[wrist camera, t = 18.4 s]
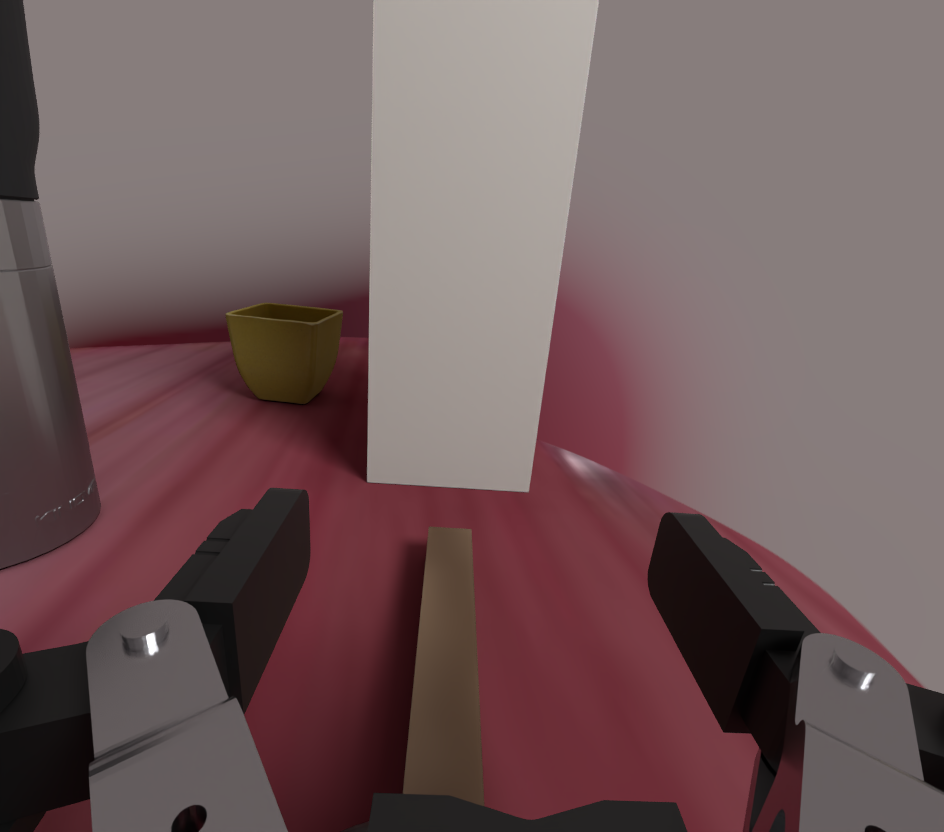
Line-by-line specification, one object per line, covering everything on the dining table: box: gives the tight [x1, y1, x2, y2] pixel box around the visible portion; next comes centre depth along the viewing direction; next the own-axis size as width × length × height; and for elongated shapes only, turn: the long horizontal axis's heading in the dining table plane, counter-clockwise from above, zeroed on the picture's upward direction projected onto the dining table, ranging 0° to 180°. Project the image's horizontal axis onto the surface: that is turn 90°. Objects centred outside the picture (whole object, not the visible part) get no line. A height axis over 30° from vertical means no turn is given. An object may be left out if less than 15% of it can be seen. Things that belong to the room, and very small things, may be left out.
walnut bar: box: [403, 527, 484, 806], centre depth 18 cm, size 2×22×2 cm, turn 1°
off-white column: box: [367, 0, 599, 492], centre depth 36 cm, size 12×12×32 cm
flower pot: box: [226, 303, 343, 404], centre depth 50 cm, size 9×9×9 cm
